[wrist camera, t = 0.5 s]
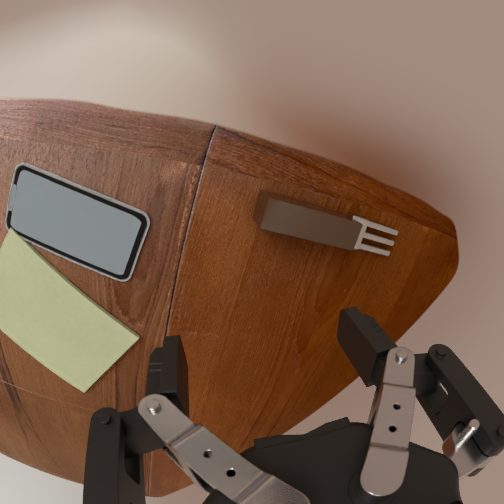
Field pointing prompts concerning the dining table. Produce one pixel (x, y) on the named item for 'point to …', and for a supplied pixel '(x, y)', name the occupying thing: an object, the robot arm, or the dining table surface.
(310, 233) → the fork
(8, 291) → the placemat
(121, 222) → the smartphone
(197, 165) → the dining table surface
